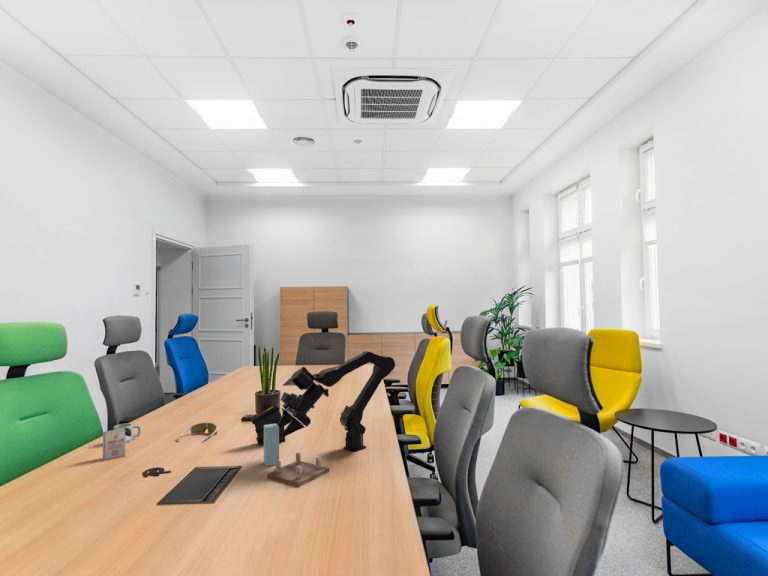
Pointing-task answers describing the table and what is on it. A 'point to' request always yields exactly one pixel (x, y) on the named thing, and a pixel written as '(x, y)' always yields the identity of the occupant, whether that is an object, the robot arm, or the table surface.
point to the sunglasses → (202, 429)
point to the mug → (128, 431)
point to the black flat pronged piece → (154, 472)
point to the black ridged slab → (267, 422)
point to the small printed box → (113, 444)
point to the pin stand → (298, 471)
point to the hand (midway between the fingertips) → (279, 432)
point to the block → (271, 444)
